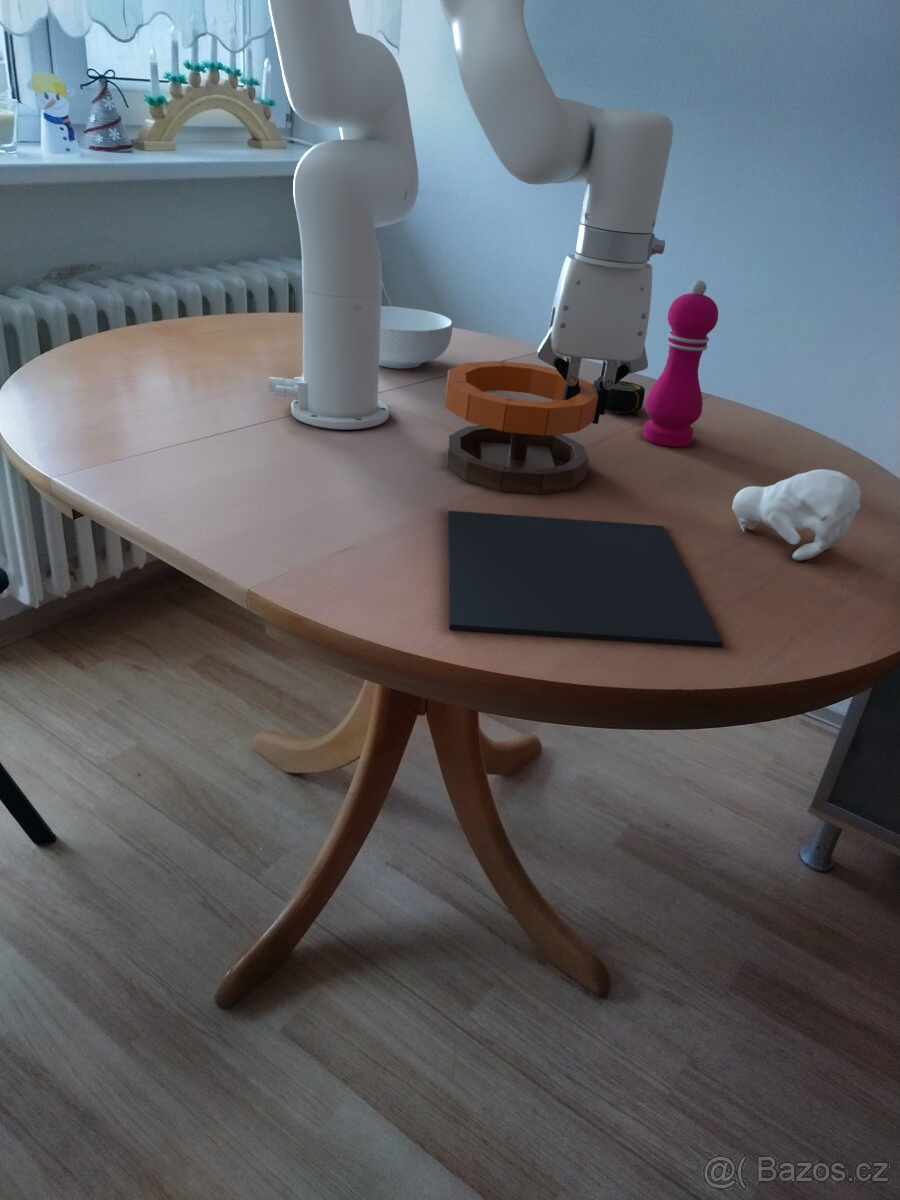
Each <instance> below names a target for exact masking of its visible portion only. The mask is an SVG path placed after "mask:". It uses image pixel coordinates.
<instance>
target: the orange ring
mask: <svg viewBox="0 0 900 1200" xmlns="http://www.w3.org/2000/svg"><path fill="white" fill-rule="evenodd" d="M578 379H579V386H580V388H581V390H580V393H579V394H578V395H576V396H574V397H572V398H571V399H569V400H563V395H564V389H565V383H566V381H565V380H564V378H563V377H562V376H561V374H560V373H559V372H558V370H557V369H556V368H551V367H548V366H544V365H539V364H534V363H524V362H515V361H514V362H513V361H505V360H492V361H491V360H490V361H475V362H466V363H463V364H460V365H458V366H455V367H452V368H450V369H448V370H447V376H446V388H445V408H446V410H448V411H450V412H451V413H453V414H454V415H456V416H458V417H460V418H461V419H462V420H464V421H465V422H468V423H471V424H474V425H482V426H485V427H489V428H492V429H496V430H499V431H504V432H512V433H522V434H533V435H555V434H563V435H564V434H571V433H578V432H580V431H582V430H584V428H587V427H588V426H590V425H591V424H593V421H594V416H595V411H596V406H597V400H598V394H597V393H596V391H595V389H594V387H593V383H592V382H589V381H588V380H585V379H583V378H581V377H579V376H578ZM498 391H504V392H513V393H523V394H530V395H534V396H538V397H541V398H545V399H550V400H549V401H539V400H537V401H536V400H526V399H516V398H509V397H505V396H501V395H498V394H493V393H490V392H498Z"/></svg>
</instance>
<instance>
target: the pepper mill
mask: <svg viewBox="0 0 900 1200" xmlns="http://www.w3.org/2000/svg"><path fill="white" fill-rule="evenodd" d="M690 291H691V292H689V293H685V294H682V295H680V296H678V297H677V298H675V300H673V301H672V302H671V304H670V307H669V308H668V312H667V323H668V325H669V326H670V328H671V331H669V332H668V333H667V336H668V338H667V340H666V344H667V346H668V354H667V359H666V362H665V366H664V368H663V370H662V372H661V373H660V375H659V377H658V378H657V380H656V381H655V383H654V384H653V386H652V387H651V388H650V390H649V393H648V394H647V397H646V400H645V404H644V409H645V412H646V414H647V416H648V418H649V420H646V422H645V424H644V428H643V433H642V434H643V438H644V439H645V440H646V441H648V442H650V443H652V444H655V445H658V446H662V447H670V448H683V447H688V446H690V444H691V443H692V438H693V434H694V429H693V427H692V425H693V424H694V423H696V422H697V421H698V420H699V419H700V417H701V415H702V413H703V402H704V401H703V395H702V390H701V385H700V380H699V367H700V361H701V358H702V355H703V352H704V351H706V350H707V349H708V342H709V341H710V338H709V336H708V334H709V333H711V331H713V330H714V329H715V327H716V326H717V323H718V320H719V309H718V305H717V304H716V302H715V301H714V299H712V298H711V297H710V296H707V295H706V294H705V293H706V291H707V283H706V282H705V281H704V280H700V279H699V280H695V281H694V282H693V283H692V284H691V288H690Z"/></svg>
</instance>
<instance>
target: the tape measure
mask: <svg viewBox="0 0 900 1200" xmlns="http://www.w3.org/2000/svg"><path fill="white" fill-rule="evenodd" d="M596 381H597V380H596V379H595V380H594V381H593V383H592V385H594V383H595V382H596ZM645 395H646V390H645V387H644V386H643V385H641V384H637V383H634V382H629V381H623V380H620V381H619V382H617V383H616V384H615V385H614V387H613V388H612V389H610V390H609V394H608V399H607V404H606V409H605V410H607V411H611V412H612V411H613V412H615V413H616V414H629V413H634V412H638V411H640V410H641V409H642V408H643V404H644V402H645Z"/></svg>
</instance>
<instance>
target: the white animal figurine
mask: <svg viewBox="0 0 900 1200" xmlns="http://www.w3.org/2000/svg"><path fill="white" fill-rule="evenodd" d="M861 495H862V491H861V489H860V486H859V484H858V481H856V480H854V479H853V478H851V476H849V475H846V474H845V473H843V472H840V471H836V470H832V469H825V468H824V469H823V468H822V469H820V468H819V469H812V470H809V471H807V472H801V473H797V474H795V475H792V476H790V477H787V478H785V479H782V480H780V481H777V482H776V483H774V484H771V485H767V486H757V485H755V486H753V485H752V486H747V487H744V488H742V489H740V490H739V491H738V492H737V493H736V494H735V495H734V498H733V501H732V506H731V509H732V511H733V513H734V515H735V517H736V519H737V521H738V524H739V527H740V528H741V530H742V531H743V532H745V529H748V530H754V529H755V528H756V527H757V525H758V524H760V525H761V524H762V523H763V524H765V525H766V526H767V527H769V528H770V529H771V530H774V531H775V532H776V533H777V534H778V535H780V536H781V538H783V539H784V540H785V541H786V542H787V543H788V544H791V545H797V544H799V543H800V541H801V535H800V534H799V533H798V531H801V530H805V529H808V530H810V531H812V532H813V533H814V534H815V537H814V540H813V542H810V543H809V542H808V543H805V544H802V545H800V547H798V548H797V549H796V550H795V551H794V552H793V553H792V559H793V560H795V561H805V560H810V559H813V558H815V557H817V556H818V555H820V554H821V553H823V552H824V551H826V550H828V549H830V548H832V547H833V546H834V545H836V544H838V543H839V541H841V540H842V538H843V537H844V536H845V535H846V534H847V533H849V530H850V528H851V526H852V522H853V521H854V519H855V516H856V515H857V512H858V511H859V510H860V508H861V504H860V502H861V501H860V499H861ZM797 530H798V531H797Z"/></svg>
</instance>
